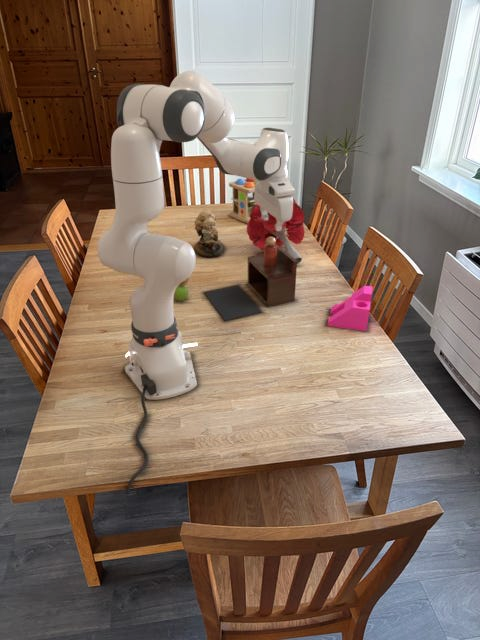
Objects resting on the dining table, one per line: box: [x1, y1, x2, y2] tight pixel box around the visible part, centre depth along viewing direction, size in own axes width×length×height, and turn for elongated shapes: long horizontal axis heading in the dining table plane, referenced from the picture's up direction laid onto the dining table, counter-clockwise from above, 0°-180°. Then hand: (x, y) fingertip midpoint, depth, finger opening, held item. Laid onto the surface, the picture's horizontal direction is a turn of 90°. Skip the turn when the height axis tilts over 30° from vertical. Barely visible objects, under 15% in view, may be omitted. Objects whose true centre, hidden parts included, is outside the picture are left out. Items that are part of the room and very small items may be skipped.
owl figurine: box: [194, 209, 225, 258], centre depth 200 cm, size 18×12×17 cm, turn 10°
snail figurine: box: [173, 277, 190, 302], centre depth 166 cm, size 5×6×12 cm
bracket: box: [327, 285, 373, 332], centre depth 156 cm, size 12×10×10 cm
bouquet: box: [246, 197, 306, 265], centre depth 195 cm, size 22×24×30 cm
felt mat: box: [203, 284, 263, 322], centre depth 168 cm, size 20×13×1 cm, turn 23°
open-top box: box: [247, 243, 298, 308], centre depth 170 cm, size 17×10×15 cm, turn 23°
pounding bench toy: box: [228, 178, 257, 225], centre depth 229 cm, size 23×14×18 cm, turn 40°
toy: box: [263, 237, 277, 267], centre depth 165 cm, size 4×4×10 cm
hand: (271, 225), depth 160 cm, fingers open, 8 cm apart
